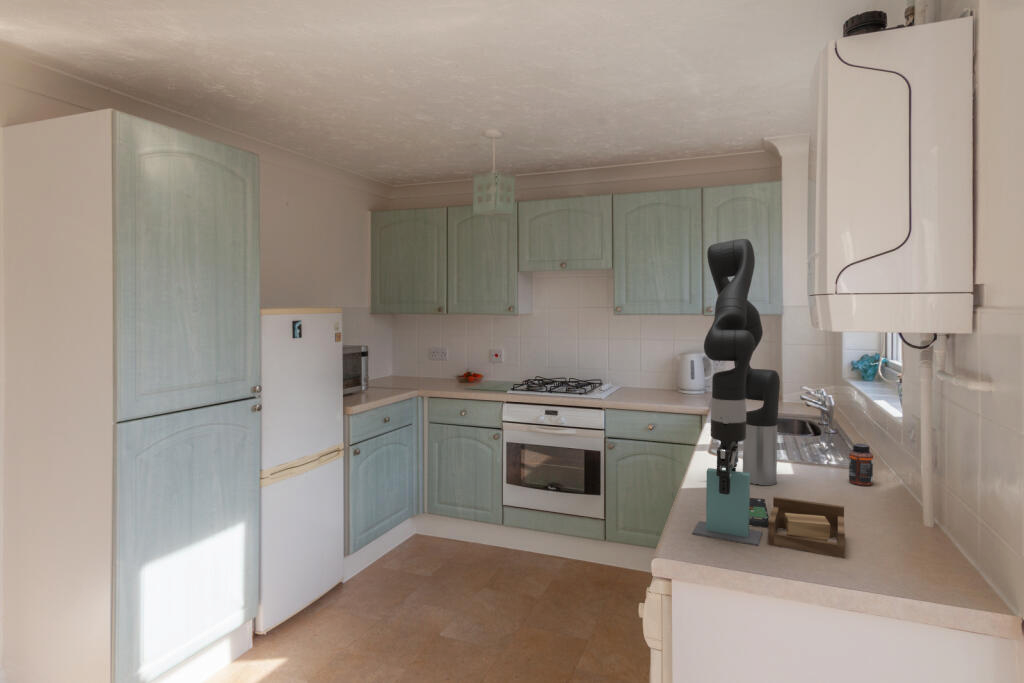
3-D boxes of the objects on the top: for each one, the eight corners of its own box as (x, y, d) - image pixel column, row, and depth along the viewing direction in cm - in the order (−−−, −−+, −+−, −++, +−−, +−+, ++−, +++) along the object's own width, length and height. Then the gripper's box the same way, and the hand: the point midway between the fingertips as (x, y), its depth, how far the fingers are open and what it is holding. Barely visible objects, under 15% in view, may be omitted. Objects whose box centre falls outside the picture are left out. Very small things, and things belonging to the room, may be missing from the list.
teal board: (707, 526, 134) (708, 468, 134) (749, 533, 130) (749, 473, 129) (706, 530, 132) (706, 470, 131) (747, 537, 128) (748, 475, 127)
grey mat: (699, 522, 138) (699, 520, 138) (762, 533, 131) (762, 531, 131) (692, 534, 131) (692, 532, 131) (758, 546, 124) (758, 544, 124)
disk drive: (722, 505, 152) (722, 524, 138) (722, 494, 152) (722, 513, 138) (764, 509, 148) (769, 529, 134) (764, 498, 148) (769, 518, 134)
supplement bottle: (877, 485, 164) (878, 446, 163) (861, 487, 162) (862, 448, 162) (859, 479, 170) (860, 441, 169) (843, 481, 168) (844, 443, 167)
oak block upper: (784, 526, 128) (784, 512, 128) (824, 529, 126) (824, 516, 126) (788, 534, 124) (788, 521, 123) (829, 538, 121) (830, 524, 121)
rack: (773, 525, 136) (773, 496, 135) (843, 536, 128) (844, 506, 128) (768, 544, 125) (768, 512, 125) (844, 557, 118) (844, 524, 118)
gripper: (716, 411, 138) (716, 477, 139) (704, 422, 125) (704, 495, 126) (750, 413, 134) (749, 482, 135) (741, 425, 121) (740, 500, 123)
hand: (727, 488), depth 131 cm, fingers open, 8 cm apart
